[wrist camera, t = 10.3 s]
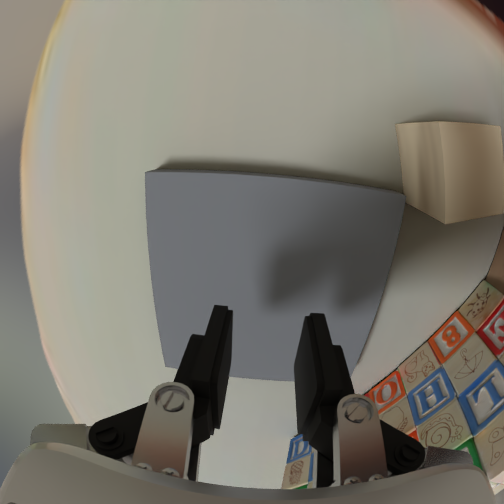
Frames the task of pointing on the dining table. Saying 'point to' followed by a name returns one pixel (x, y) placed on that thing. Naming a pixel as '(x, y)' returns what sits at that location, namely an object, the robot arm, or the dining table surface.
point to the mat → (267, 261)
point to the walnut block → (497, 268)
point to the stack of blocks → (443, 392)
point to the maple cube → (452, 169)
